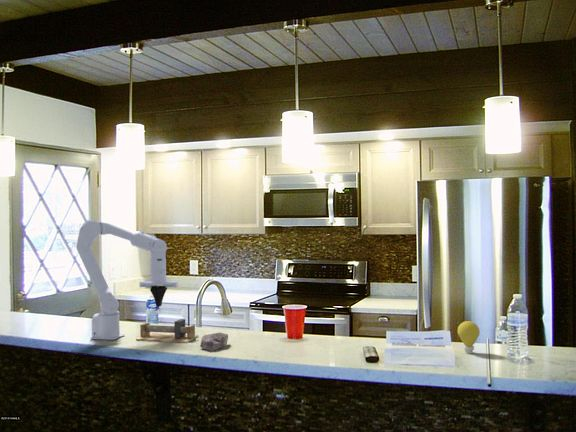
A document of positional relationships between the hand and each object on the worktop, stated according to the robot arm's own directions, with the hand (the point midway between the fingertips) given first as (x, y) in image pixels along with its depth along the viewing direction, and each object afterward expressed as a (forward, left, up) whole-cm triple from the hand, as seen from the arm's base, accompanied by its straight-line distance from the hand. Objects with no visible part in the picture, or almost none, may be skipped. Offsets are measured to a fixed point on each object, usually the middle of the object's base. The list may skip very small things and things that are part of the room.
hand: (158, 306), depth 220 cm
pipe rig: (+8, -8, -10) cm, 15 cm away
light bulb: (+113, -8, -11) cm, 113 cm away
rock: (+29, -17, -11) cm, 36 cm away
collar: (+13, -8, -10) cm, 18 cm away
